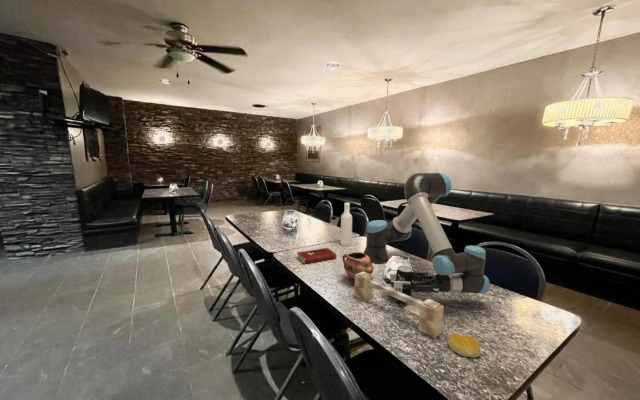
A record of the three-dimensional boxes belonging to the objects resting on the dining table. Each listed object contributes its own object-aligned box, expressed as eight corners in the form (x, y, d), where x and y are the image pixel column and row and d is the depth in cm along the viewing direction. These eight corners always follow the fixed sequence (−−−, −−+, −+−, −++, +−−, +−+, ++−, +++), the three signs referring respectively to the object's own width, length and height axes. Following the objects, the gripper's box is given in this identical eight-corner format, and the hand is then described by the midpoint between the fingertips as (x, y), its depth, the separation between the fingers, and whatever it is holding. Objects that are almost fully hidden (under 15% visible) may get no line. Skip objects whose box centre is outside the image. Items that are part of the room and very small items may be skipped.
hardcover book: (336, 259, 156) (336, 253, 155) (304, 265, 147) (304, 258, 146) (327, 253, 166) (327, 247, 166) (296, 258, 157) (296, 251, 157)
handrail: (354, 296, 114) (355, 273, 112) (361, 292, 117) (362, 270, 115) (434, 338, 87) (437, 309, 86) (441, 332, 91) (443, 304, 89)
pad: (403, 308, 105) (403, 307, 105) (417, 299, 112) (417, 298, 112) (430, 321, 97) (430, 320, 97) (442, 310, 104) (442, 309, 104)
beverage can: (412, 300, 106) (414, 272, 104) (395, 298, 107) (397, 271, 105) (410, 292, 112) (412, 266, 110) (394, 290, 114) (396, 264, 112)
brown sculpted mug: (333, 277, 131) (333, 251, 129) (348, 271, 139) (349, 246, 137) (364, 292, 117) (365, 263, 115) (379, 284, 125) (381, 257, 123)
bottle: (340, 242, 187) (341, 201, 182) (351, 242, 186) (352, 202, 182) (340, 246, 179) (341, 203, 174) (351, 246, 179) (353, 204, 174)
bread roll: (445, 338, 88) (446, 327, 87) (474, 343, 86) (475, 332, 85) (451, 355, 80) (452, 344, 79) (483, 361, 78) (485, 349, 77)
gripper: (457, 303, 99) (396, 301, 100) (438, 280, 118) (387, 278, 119) (459, 285, 97) (397, 283, 99) (439, 264, 117) (387, 262, 118)
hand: (392, 280), depth 109 cm, fingers closed on beverage can, 6 cm apart
